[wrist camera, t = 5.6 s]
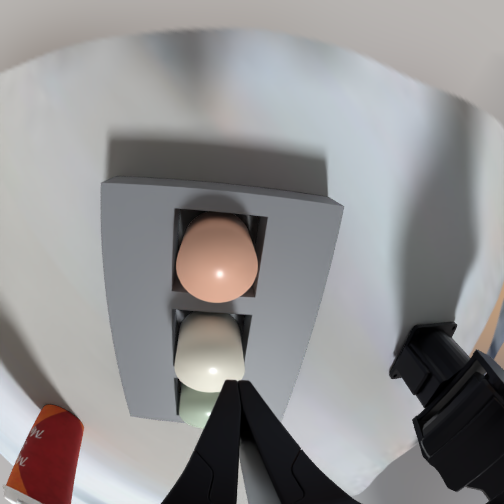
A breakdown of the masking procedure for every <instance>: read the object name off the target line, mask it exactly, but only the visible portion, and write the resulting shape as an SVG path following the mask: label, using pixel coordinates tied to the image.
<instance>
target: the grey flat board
mask: <svg viewBox="0 0 504 504" xmlns="http://www.w3.org/2000/svg"><path fill="white" fill-rule="evenodd" d="M180 209H191V210H203V211H214V212H225V213H235V214H245V215H255V216H260V218H259V225H258V232H257V239H256V245H255V253H256V256H257V261H258V271H257V275H256V278H255V280H254V282H253V284H252V286H251V287H250V288H249V289H248V290H247V291H246V292H245V293H244V294H243V295H241V296H240V297H238V298H236V299H234V300H231V301H228V302H222V303H212V302H207V301H203V300H200V299H198V298H196V297H194V296H193V295H191V294H190V293H189V292H188V291H187V290H186V289H185V288H184V287H183V285H182V284H181V282H180V280H179V278H178V275H177V270H176V261H177V254H178V232H179V215H180ZM343 210H344V206H343V205H341V204H339V203H338V202H336V201H334V200H333V199H331V198H329V197H325V196H319V195H312V194H305V193H299V192H291V191H284V190H277V189H269V188H261V187H252V186H243V185H234V184H224V183H214V182H203V181H191V180H177V179H163V178H145V177H123V176H116V177H113V178H111V179H109V180H106V181H104V182H102V183H101V237H102V255H103V268H104V279H105V289H106V297H107V305H108V312H109V319H110V326H111V332H112V338H113V343H114V349H115V354H116V359H117V364H118V368H119V373H120V377H121V382H122V386H123V390H124V394H125V398H126V401H127V405H128V409H129V412H130V416H133V417H139V418H146V419H153V420H162V421H171V422H181V423H185V422H184V421H183V420H182V419H181V417H180V415H179V408H180V396H181V394H179V393H178V377H177V375H176V373H175V368H174V367H175V358H176V352H177V345H178V344H177V336H176V309H178V310H190V311H202V312H215V313H230V314H245V319H244V326H243V333H242V339H241V343H242V350H243V358H244V366H245V373H244V376H243V378H242V379H241V380H249V381H250V382H251V383H252V384H253V386H254V387H255V388H256V390H257V391H258V393H259V394H260V395H261V397H262V398H263V399H264V401H265V402H266V404H267V405H268V406H269V408H270V409H271V410H272V412H273V413H274V414H275V416H276V417H277V418H278V420H279V421H280V422H281V421H282V418H283V416H284V413H285V410H286V408H287V405H288V402H289V400H290V397H291V394H292V391H293V388H294V386H295V383H296V380H297V377H298V374H299V371H300V368H301V365H302V362H303V359H304V356H305V353H306V350H307V347H308V343H309V340H310V337H311V334H312V330H313V327H314V324H315V320H316V317H317V314H318V310H319V307H320V303H321V300H322V296H323V292H324V289H325V285H326V281H327V277H328V274H329V270H330V266H331V262H332V258H333V254H334V250H335V245H336V241H337V237H338V233H339V228H340V224H341V219H342V215H343Z"/></svg>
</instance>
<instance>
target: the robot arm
mask: <svg viewBox="0 0 504 504" xmlns="http://www.w3.org/2000/svg"><path fill="white" fill-rule="evenodd" d="M456 328H457V324H456V323H455V322H449V323H438V324H426V325H416V326H415V327H414V328H413V329H412V331H411V333H410V335H409V337H408V339H407V341H406V343H405V345H404V347H403V349H402V351H401V353H400V355H399V357H398V359H397V361H396V363H395V365H394V367H393V369H392V370H391V372H390V374H389V376H390V378H391V379H397V378H402V379H403V380H404V382H405V383H406V385H407V386H408V388H409V389H410V391H411V392H412V394H413V395H416V396H417V398H418V399H419V401H420V402H421V404H422V405H423V407H424V408H425V409H424V410H423V411H422V412H421V413H420V414H419V415H418V416H415V417H414V418H413V419H412V421H413V424H414V428H415V431H416V435H417V438H418V441H419V445H420V448H421V452H422V455H423V457H424V458H425V459H426V460H427V461H428V462H429V464H430V465H432V466H433V467H435V468H436V470H437V471H438V472H439V473H440V475H441V477H442V478H443V480H444V482H445V484H446V486H447V487H448V488H449V489H451V490H453V491H456V492H458V491H460V490H461V489H462V488H464V487H467V488H472V489H476V490H481V491H482V492H483V493H484V494H485V495H486V497H487V498H488V500H489V502H487V503H486V504H504V370H503V369H502V368H501V367H500V366H499V365H498V364H497V363H496V362H495V361H494V360H493V359H492V358H491V357H490V356H488V355H486V354H484V353H482V352H481V351H479V350H476V351H475V352H474V353H473V356H472V357H471V358H470V357H469V356H468V355H467V354H466V353H465V352H464V351H463V349H462V348H461V347H460V346H459V345H458V344H457V343H456V342H455V341H454V340H453V339H452V336H453V334H454V332H455V330H456ZM486 372H487V374H486V375H485V376H484V374H485V373H486ZM239 458H240V463H241V469H242V474H243V479H244V484H245V489H246V494H247V499H248V503H249V504H361V503H359V502H357V501H356V500H354V499H353V498H352V497H350V496H349V495H348V494H347V493H345V492H344V491H343V490H342V489H341V488H340V487H338V486H337V485H336V484H335V483H334V482H333V481H332V480H330V479H329V478H328V477H327V476H326V475H325V474H324V473H323V472H322V471H321V470H320V469H319V468H318V467H317V466H316V465H315V464H314V463H313V462H312V461H311V460H310V458H309V457H308V456H307V455H306V454H305V452H304V451H303V450H301V448H300V446H299V445H298V444H297V443H296V441H295V440H294V439H293V438H292V436H291V435H290V434H289V432H288V431H287V430H286V429H285V427H284V426H283V425H282V423H281V422H280V421H279V420H278V418H277V417H276V416H275V414H274V413H273V412H272V410H271V409H270V408H269V406H268V405H267V404H266V402H265V401H264V399H263V398H262V397H261V395H260V394H259V393H258V391H257V390H256V388H255V387H254V386H253V384H252V383H251V382H250V381H249V380H239V381H237V380H228V379H227V380H225V382H224V384H223V386H222V389H221V391H220V393H219V396H218V398H217V400H216V402H215V405H214V407H213V409H212V411H211V414H210V416H209V418H208V420H207V423H206V425H205V427H204V429H203V432H202V434H201V436H200V438H199V440H198V443H197V445H196V447H195V449H194V451H193V453H192V455H191V458H190V460H189V462H188V464H187V465H186V467H185V469H184V471H183V473H182V474H181V476H180V477H179V479H178V481H177V482H176V484H175V485H174V486H173V488H172V489H171V491H170V492H169V493H168V495H167V496H166V497H165V499H164V500H163V502H162V503H161V504H236V503H237V485H238V467H239Z"/></svg>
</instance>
